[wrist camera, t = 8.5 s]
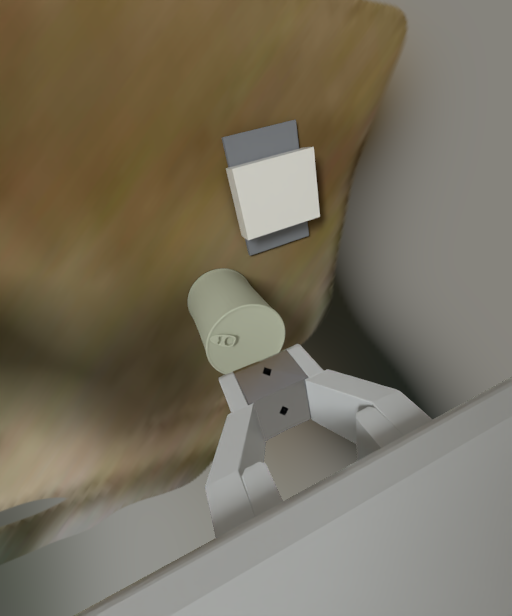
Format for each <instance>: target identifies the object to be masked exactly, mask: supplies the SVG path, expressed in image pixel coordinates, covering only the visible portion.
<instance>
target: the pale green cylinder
mask: <svg viewBox="0 0 512 616" xmlns="http://www.w3.org/2000/svg"><path fill="white" fill-rule="evenodd" d="M188 309H189V312H190V314H191V316H192V318H193V319H194V321H195V324H196V326H197V329H198V331H199V334H200V337H201V339H202V342H203V345H204V348H205V350H206V355H207V358H208V360H209V362H210V364H211V365H212V366H213V367H214V368H215V369H216V370H217V371H219V372H221V373H223V374H225V375H226V374H228V373H231V372H233V371H235V370H238V369H240V368H243V367H245V366H248V365H250V364H253V363H255V362H258V361H260V360H262V359H265V358H267V357H269V356H272V355H274V354H276V353H278V352H280V350H281V348H282V346H283V343H284V339H285V326H284V322H283V320H282V318H281V317H280V315H279V314H278V313H277V312H276V311H275V310H274V309H272V308H271V307H270V306H269V305H268V304H267V303H266V302H265V301H264V299H263V298H262V297H261V296H260V295H259V294H258V293H257V292H256V291H255V290H254V289H253V288H252V287H251V286H250V284H249V283H248V281H247V280H246V278H245V277H244V276H243V275H241V274H240V273H238V272H236V271H234V270H231V269H215V270H212V271H209V272H207V273H205V274H203V275H202V276H201V277H199V278H198V279H197V280H196V281H195V283H194V284H193V286H192V287H191V289H190V292H189V295H188Z"/></svg>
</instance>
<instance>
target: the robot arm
mask: <svg viewBox="0 0 512 616" xmlns="http://www.w3.org/2000/svg"><path fill="white" fill-rule="evenodd" d="M218 378H219V382H220V385H221V387H222V390H223V393H224V395H225V398H226V400H227V403H228V406H229V408H230V411H231V413H230V414H228V415H227V418H226V421H225V424H224V428H223V431H222V434H221V437H220V440H219V444H218V447H217V450H216V453H215V456H214V460H213V463H212V466H211V469H210V472H209V476H208V479H207V482H206V485H205V490H206V494H207V499H208V504H209V509H210V513H211V518H212V523H213V527H214V532H215V536H216V538H215V539H214V540H212V541H210V542H208V543H206V544H204V545H203V546H201V547H199V548H197V549H195V550H194V551H192V552H190V553H188V554H186V555H184V556H182V557H180V558H179V559H177V560H175V561H173V562H171V563H170V564H168V565H166V566H164V567H162V568H160V569H159V570H157V571H155V572H153V573H151V574H150V575H147V576H146V577H144V578H142V579H140V580H138V581H137V582H135V583H133V584H131V585H129V586H127V587H126V588H124V589H122V590H120V591H119V592H116V593H115V594H113V595H111V596H109V597H107V598H105V599H103V600H102V601H100V602H98V603H96V604H94V605H92V606H91V607H89V608H87V609H85V610H83V611H82V612H80V613H78V614H76V615H74V616H512V377H510V378H508V379H507V380H505V381H503V382H501V383H499V384H497V385H496V386H494V387H492V388H490V389H488V390H487V391H485V392H483V393H481V394H479V395H477V396H475V397H474V398H472V399H470V400H468V401H466V402H464V403H463V404H461V405H459V406H457V407H455V408H453V409H452V410H450V411H448V412H446V413H444V414H442V415H441V416H439V417H437V418H435V419H433V420H432V419H431V418H430V417H429V416H428V415H427V414H425V413H424V412H423V411H422V410H421V409H420V408H418V407H417V406H416V405H415V404H414V403H413V402H412V401H411V400H409V399H408V398H407V397H406V396H405V395H404V394H402V393H401V392H400V391H399V390H396V389H393V388H389V387H386V386H383V385H379V384H376V383H373V382H369V381H366V380H362V379H359V378H356V377H352V376H349V375H346V374H342V373H339V372H336V371H332V370H329V369H327V370H325V371H324V370H323V369H322V368H321V367H320V366H319V365H318V364H317V363H316V362H315V361H314V359H313V358H312V357H311V356H310V355H309V354H308V353H307V352H306V351H305V350H304V349H303V348H302V346H301V345H299V344H296V345H294V346H292V347H289V348H287V349H285V350H283V351H281V352H278V353H276V354H274V355H272V356H269V357H267V358H265V359H262V360H260V361H258V362H255V363H253V364H250V365H248V366H245V367H243V368H240V369H238V370H235V371H233V372H231V373H228V374H226V375H223V376H221V377H218ZM309 419H312V420H313V421H315V422H317V423H319V424H320V425H322V426H324V427H326V428H328V429H330V430H331V431H333V432H335V433H337V434H339V435H341V436H343V437H344V438H346V439H348V440H350V441H352V442H354V443H355V444H357V461H356V462H355V463H353V464H351V465H349V466H347V467H345V468H344V469H342V470H340V471H338V472H336V473H334V474H333V475H331V476H329V477H327V478H326V479H324V480H322V481H320V482H318V483H316V484H314V485H312V486H311V487H309V488H307V489H305V490H303V491H301V492H300V493H298V494H296V495H294V496H292V497H290V498H289V499H287V500H285V501H283V500H282V498H281V496H280V494H279V491H278V489H277V487H276V485H275V483H274V480H273V478H272V476H271V474H270V471H269V469H268V467H267V465H266V463H264V454H265V445H266V442H265V441H266V440H268V439H270V438H272V437H274V436H276V435H278V434H280V433H281V432H284V431H285V430H287V429H289V428H292V427H294V426H296V425H298V424H301V423H303V422H305V421H307V420H309Z"/></svg>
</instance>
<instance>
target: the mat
mask: <svg viewBox="0 0 512 616" xmlns="http://www.w3.org/2000/svg"><path fill="white" fill-rule="evenodd" d="M222 141H223V146H224V150H225V154H226V159H227V163H228V167H233V166H236V165H240V164H244V163H247V162H251V161H255V160H259V159H262V158H266V157H270V156H273V155H277V154H281V153H285V152H288V151H292V150H296V149H299V144H298V135H297V126H296V120H292V121H288V122H284V123H280V124H276V125H272V126H268V127H263V128H259V129H255V130H251V131H247V132H243V133H239V134H235V135H231V136H227V137H223V138H222ZM306 236H309V231H308V222H307V221H306V222H303V223H299V224H296V225H293V226H290V227H287V228H284V229H281V230H278V231H275V232H272V233H269V234H266V235H263V236H260V237H257V238H254V239H251V240H247V239H246V238H245V240H246V244H247V249H248V253H249V255H250V256H251V255H254V254H257V253H260V252H263V251H265V250H268V249H271V248H274V247H277V246H280V245H283V244H286V243H289V242H292V241H295V240H298V239H300V238H303V237H306Z"/></svg>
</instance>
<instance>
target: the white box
mask: <svg viewBox="0 0 512 616" xmlns="http://www.w3.org/2000/svg"><path fill="white" fill-rule="evenodd" d="M226 172H227V176H228V180H229V184H230V188H231V193H232V197H233V201H234V205H235V209H236V214H237V218H238V222H239V226H240V230H241V235H242V236H243V237H244V238H246V239H247V240H251V239H254V238H257V237H260V236H263V235H266V234H269V233H272V232H275V231H278V230H281V229H284V228H287V227H290V226H293V225H296V224H299V223H303V222H306V221H309V220H312V219H315V218H318V217H320V211H319V200H318V189H317V178H316V167H315V156H314V147H304V148H299V149H296V150H292V151H288V152H285V153H281V154H277V155H273V156H270V157H266V158H262V159H259V160H255V161H251V162H247V163H244V164H240V165H236V166H233V167H229V168H226Z"/></svg>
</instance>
